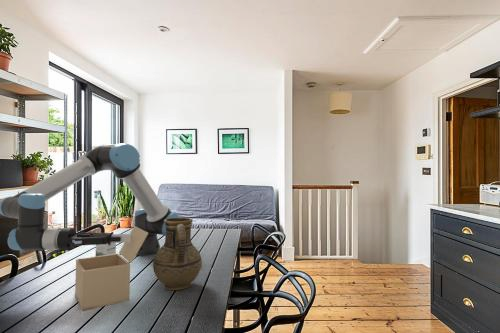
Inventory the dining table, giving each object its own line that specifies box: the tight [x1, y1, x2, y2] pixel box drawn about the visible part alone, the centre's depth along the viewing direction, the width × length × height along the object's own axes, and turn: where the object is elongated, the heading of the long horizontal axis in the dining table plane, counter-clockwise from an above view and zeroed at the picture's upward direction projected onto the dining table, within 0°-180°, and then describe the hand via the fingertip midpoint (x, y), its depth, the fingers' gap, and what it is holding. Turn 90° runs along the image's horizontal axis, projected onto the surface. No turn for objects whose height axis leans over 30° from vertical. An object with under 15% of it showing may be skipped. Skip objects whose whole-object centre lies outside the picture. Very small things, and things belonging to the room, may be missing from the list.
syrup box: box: [95, 243, 117, 257], centre depth 130 cm, size 6×6×14 cm
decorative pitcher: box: [152, 217, 203, 291], centre depth 117 cm, size 22×18×25 cm
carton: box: [74, 253, 131, 312], centre depth 106 cm, size 16×14×12 cm
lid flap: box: [118, 226, 148, 264], centre depth 112 cm, size 15×11×1 cm
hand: (131, 238), depth 112 cm, fingers closed
